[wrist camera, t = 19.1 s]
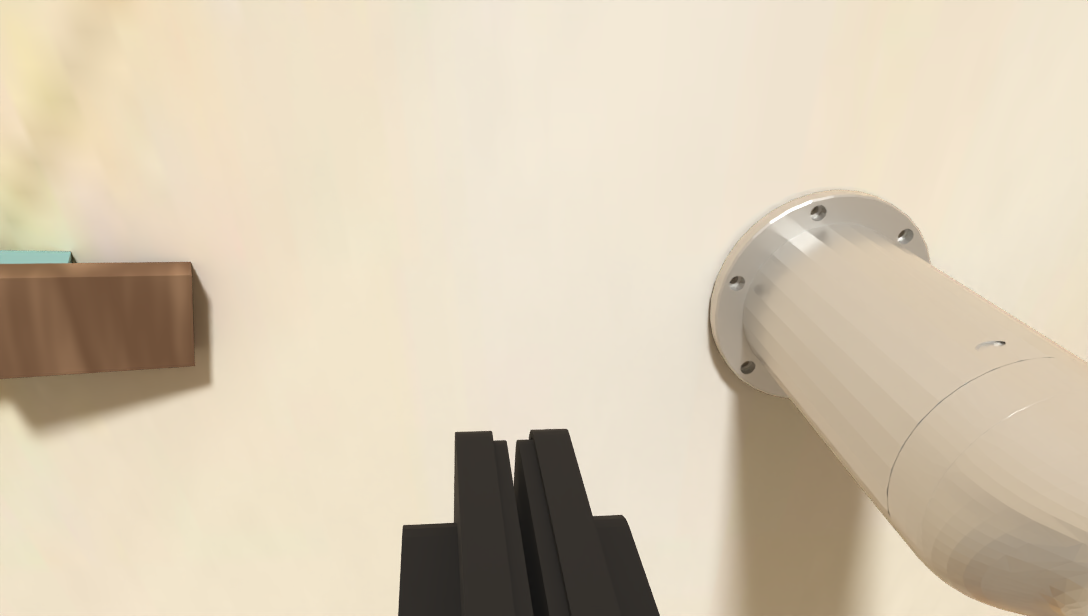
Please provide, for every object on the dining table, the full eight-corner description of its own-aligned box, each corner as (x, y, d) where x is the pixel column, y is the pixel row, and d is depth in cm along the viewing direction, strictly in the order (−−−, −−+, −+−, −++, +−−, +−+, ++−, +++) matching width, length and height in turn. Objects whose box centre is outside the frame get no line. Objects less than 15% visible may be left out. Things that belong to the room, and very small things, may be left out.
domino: (191, 275, 35) (-75, 279, 31) (194, 366, 37) (-55, 382, 33) (190, 262, 36) (-66, 264, 32) (193, 350, 38) (-47, 364, 34)
